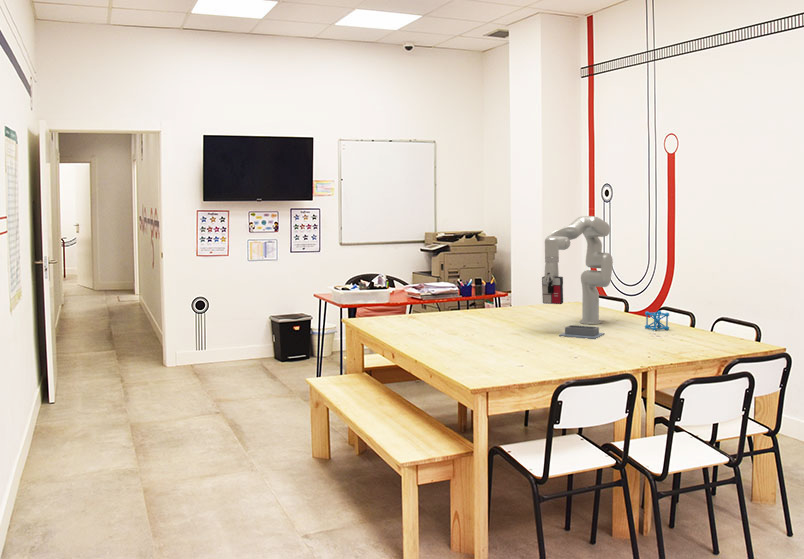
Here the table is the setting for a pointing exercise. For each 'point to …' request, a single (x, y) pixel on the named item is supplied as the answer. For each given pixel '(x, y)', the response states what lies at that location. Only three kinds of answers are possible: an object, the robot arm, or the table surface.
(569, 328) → the desk holder
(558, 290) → the multicoloured piece
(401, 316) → the table surface
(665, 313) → the molecular structure
